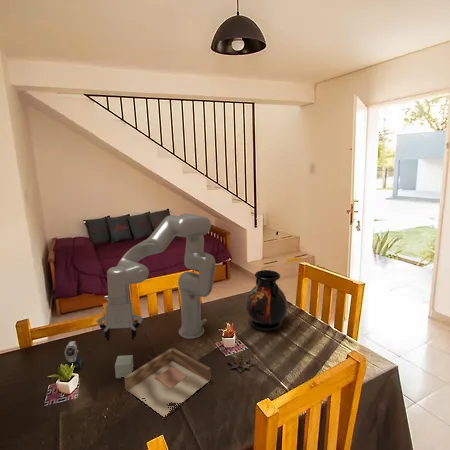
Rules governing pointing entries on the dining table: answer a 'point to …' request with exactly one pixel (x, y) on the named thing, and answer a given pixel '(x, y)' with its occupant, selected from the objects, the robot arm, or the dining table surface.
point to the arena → (167, 380)
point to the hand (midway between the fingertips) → (121, 338)
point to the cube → (123, 366)
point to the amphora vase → (266, 302)
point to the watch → (72, 355)
